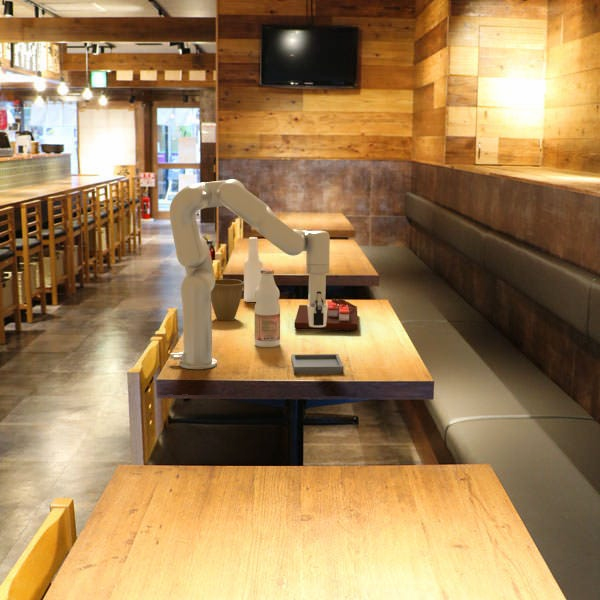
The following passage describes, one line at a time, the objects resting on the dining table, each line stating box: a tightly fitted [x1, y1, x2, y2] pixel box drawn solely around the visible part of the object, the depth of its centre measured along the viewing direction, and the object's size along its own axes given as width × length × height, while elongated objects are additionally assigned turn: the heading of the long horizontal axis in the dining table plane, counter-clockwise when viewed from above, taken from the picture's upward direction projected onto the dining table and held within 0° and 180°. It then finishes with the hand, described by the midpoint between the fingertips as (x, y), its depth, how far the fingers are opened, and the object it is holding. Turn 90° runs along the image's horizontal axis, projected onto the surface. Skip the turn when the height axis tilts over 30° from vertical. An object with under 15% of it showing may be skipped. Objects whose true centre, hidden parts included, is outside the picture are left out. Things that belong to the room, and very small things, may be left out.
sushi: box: [294, 298, 359, 331], centre depth 342 cm, size 25×35×12 cm
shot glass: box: [306, 303, 328, 327], centre depth 274 cm, size 7×7×7 cm
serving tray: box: [290, 353, 345, 376], centre depth 277 cm, size 16×16×2 cm
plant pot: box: [211, 278, 244, 322], centre depth 349 cm, size 15×15×16 cm
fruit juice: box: [253, 268, 281, 348], centre depth 305 cm, size 9×9×28 cm
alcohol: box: [243, 236, 264, 303], centre depth 385 cm, size 9×9×30 cm
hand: (317, 322), depth 274 cm, fingers closed on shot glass, 6 cm apart
